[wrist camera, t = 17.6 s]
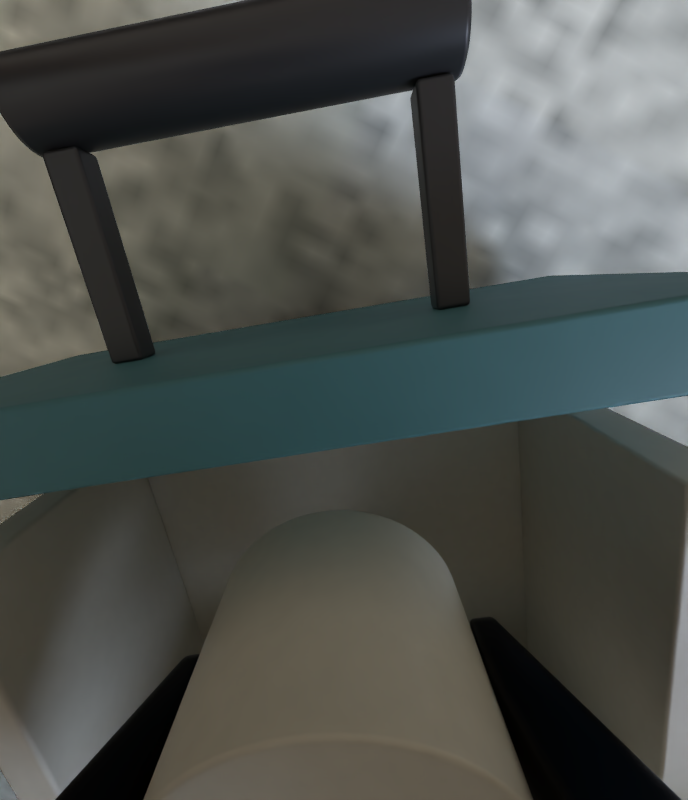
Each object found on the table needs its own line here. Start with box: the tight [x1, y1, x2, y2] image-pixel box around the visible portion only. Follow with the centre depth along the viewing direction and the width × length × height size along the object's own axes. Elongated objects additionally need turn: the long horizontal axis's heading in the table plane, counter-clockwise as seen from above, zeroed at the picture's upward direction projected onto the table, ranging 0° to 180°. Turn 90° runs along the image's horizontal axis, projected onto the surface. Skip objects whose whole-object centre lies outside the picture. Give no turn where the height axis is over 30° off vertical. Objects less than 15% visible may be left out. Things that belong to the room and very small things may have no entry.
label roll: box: [143, 510, 533, 800], centre depth 6 cm, size 5×5×4 cm
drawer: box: [0, 0, 688, 800], centre depth 9 cm, size 17×13×7 cm
